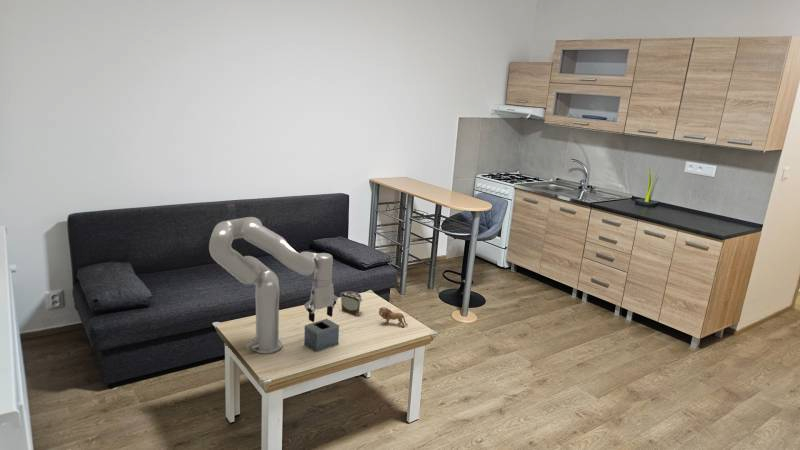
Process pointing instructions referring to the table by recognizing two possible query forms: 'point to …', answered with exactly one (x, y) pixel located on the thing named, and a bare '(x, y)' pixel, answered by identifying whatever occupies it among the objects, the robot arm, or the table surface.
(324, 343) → the box
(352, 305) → the food container
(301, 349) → the table surface
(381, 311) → the lion figurine
